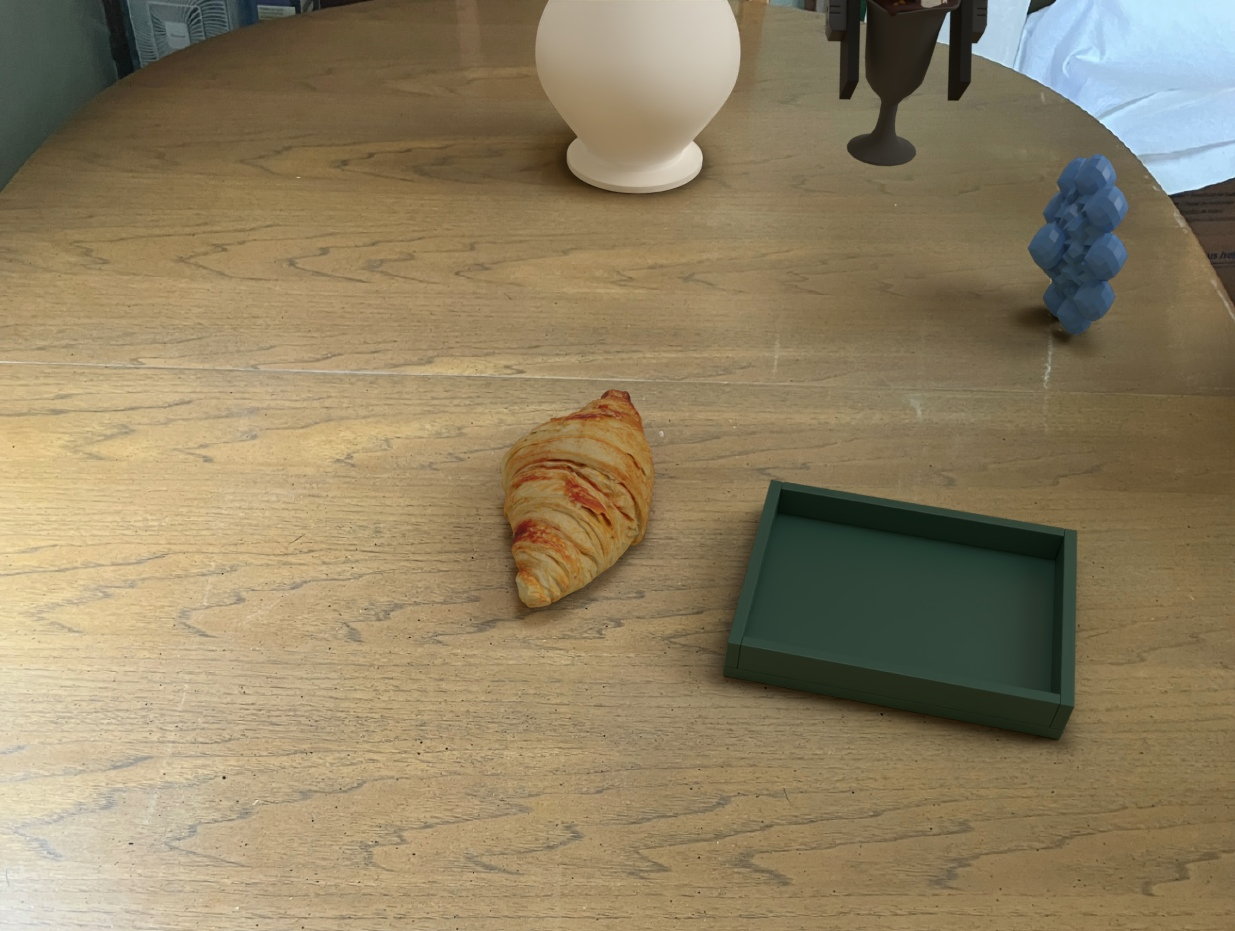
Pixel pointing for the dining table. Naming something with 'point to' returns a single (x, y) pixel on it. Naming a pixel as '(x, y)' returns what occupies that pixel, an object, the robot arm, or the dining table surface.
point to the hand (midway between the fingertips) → (904, 90)
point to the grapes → (1081, 243)
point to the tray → (910, 608)
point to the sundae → (896, 69)
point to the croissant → (577, 496)
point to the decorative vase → (637, 84)
